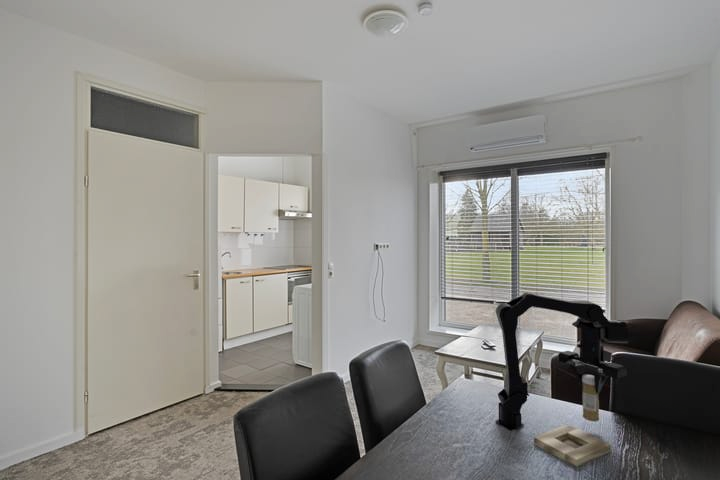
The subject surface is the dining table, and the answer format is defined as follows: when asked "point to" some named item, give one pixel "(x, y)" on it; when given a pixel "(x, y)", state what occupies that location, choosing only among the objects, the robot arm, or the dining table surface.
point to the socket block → (572, 445)
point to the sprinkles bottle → (590, 399)
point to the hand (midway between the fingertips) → (590, 390)
